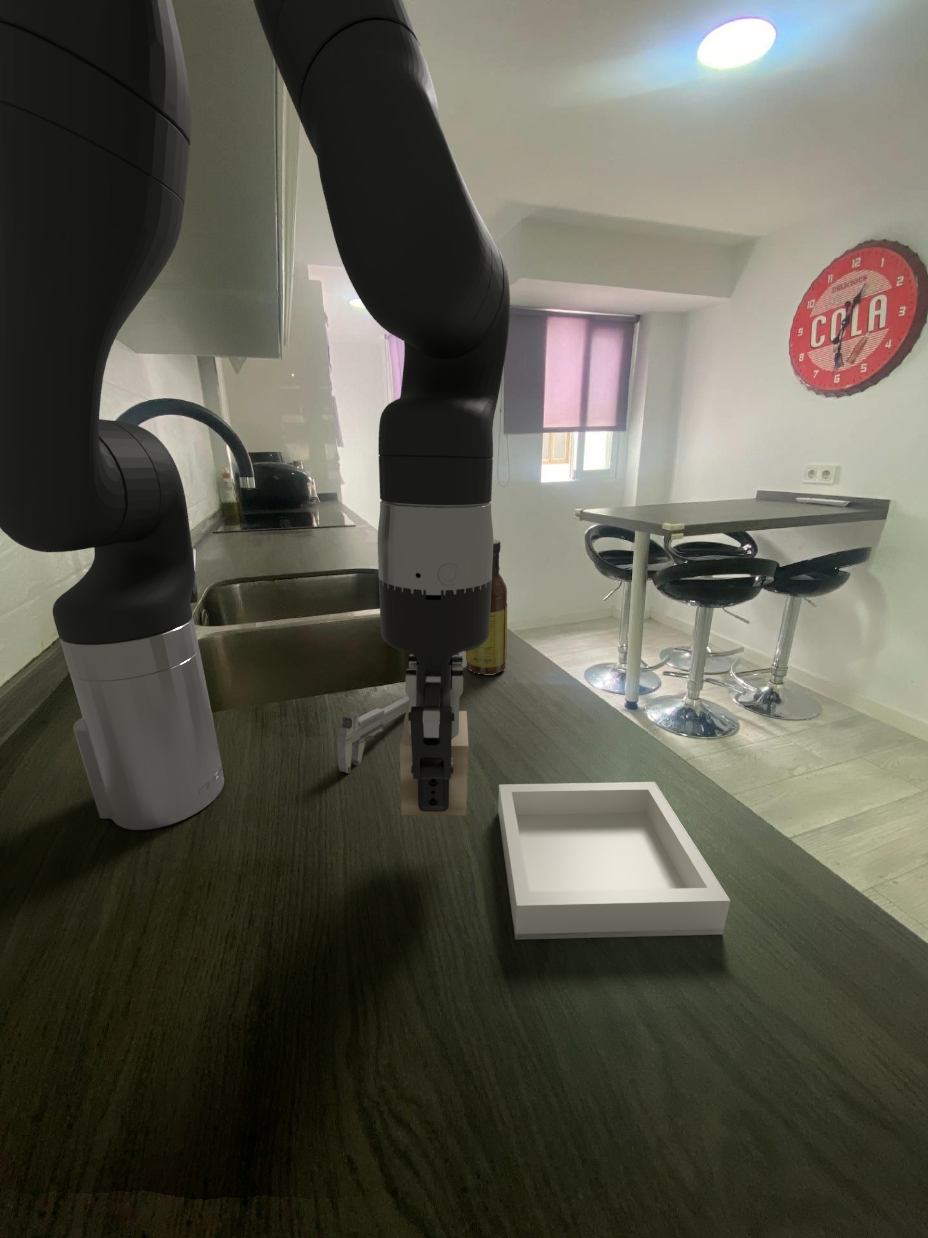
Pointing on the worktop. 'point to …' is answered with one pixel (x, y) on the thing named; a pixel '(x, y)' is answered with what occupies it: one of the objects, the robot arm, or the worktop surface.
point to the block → (455, 783)
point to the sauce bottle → (493, 627)
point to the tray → (603, 864)
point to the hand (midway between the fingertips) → (435, 783)
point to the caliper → (364, 731)
